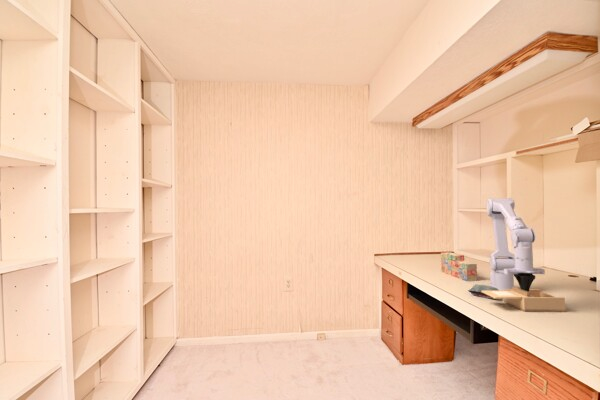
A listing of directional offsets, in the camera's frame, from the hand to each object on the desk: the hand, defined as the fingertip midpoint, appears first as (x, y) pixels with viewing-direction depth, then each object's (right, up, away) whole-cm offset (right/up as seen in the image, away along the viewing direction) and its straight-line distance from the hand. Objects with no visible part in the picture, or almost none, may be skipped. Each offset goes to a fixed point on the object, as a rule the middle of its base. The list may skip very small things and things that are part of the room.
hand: (524, 292), depth 107 cm
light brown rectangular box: (+3, -6, 0) cm, 6 cm away
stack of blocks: (+1, -7, +47) cm, 48 cm away
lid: (-7, -1, 0) cm, 7 cm away
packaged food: (-7, -7, +13) cm, 16 cm away
